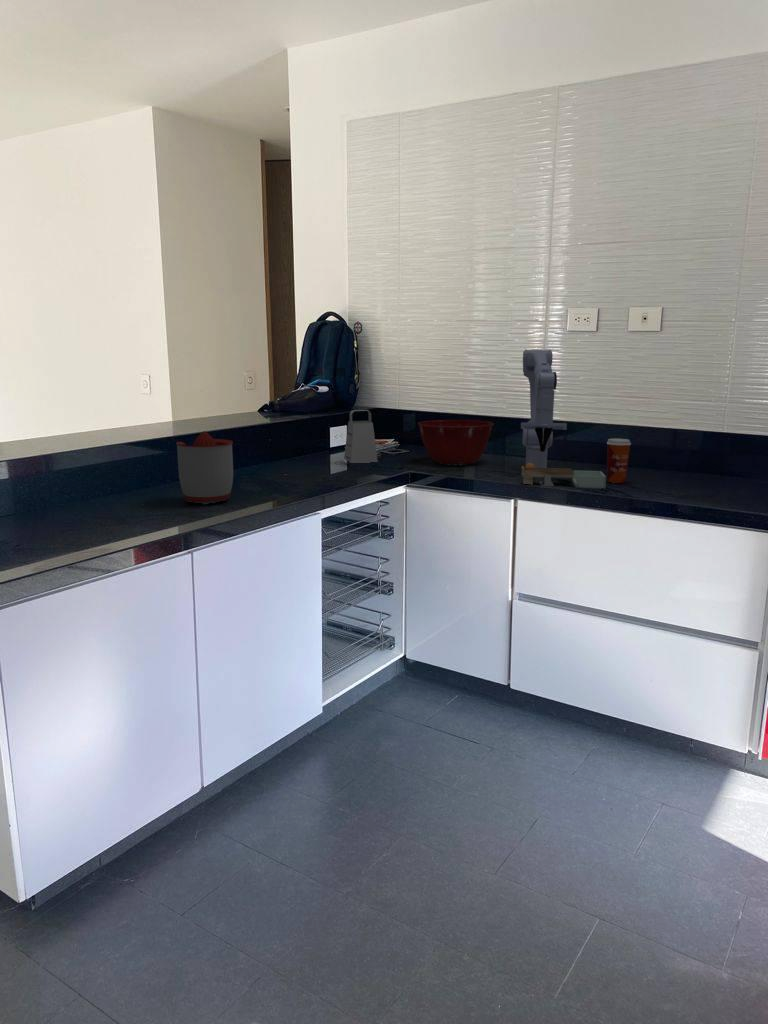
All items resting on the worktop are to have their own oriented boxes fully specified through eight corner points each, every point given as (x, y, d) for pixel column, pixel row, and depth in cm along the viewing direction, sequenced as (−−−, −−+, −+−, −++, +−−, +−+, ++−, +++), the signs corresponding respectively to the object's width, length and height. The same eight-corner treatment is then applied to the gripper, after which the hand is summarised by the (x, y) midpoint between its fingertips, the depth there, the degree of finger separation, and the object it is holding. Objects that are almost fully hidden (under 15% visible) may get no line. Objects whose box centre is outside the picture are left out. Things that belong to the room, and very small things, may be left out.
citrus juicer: (208, 493, 224) (205, 426, 220) (246, 500, 214) (244, 430, 209) (164, 501, 213) (159, 431, 208) (202, 509, 202) (198, 435, 198)
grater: (343, 462, 284) (343, 409, 280) (370, 461, 287) (370, 408, 283) (350, 466, 274) (350, 412, 270) (378, 465, 277) (378, 411, 273)
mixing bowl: (404, 460, 290) (404, 420, 286) (467, 456, 301) (468, 417, 298) (439, 471, 265) (440, 427, 261) (507, 466, 276) (508, 424, 273)
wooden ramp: (519, 478, 251) (520, 462, 250) (569, 479, 249) (570, 464, 248) (521, 484, 239) (522, 469, 238) (573, 486, 237) (574, 470, 236)
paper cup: (612, 484, 240) (615, 441, 237) (599, 480, 247) (602, 438, 244) (633, 483, 242) (636, 440, 239) (620, 479, 249) (623, 437, 246)
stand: (539, 481, 245) (539, 470, 244) (551, 482, 244) (552, 470, 243) (541, 486, 237) (541, 474, 236) (553, 486, 236) (554, 474, 236)
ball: (524, 471, 242) (524, 462, 241) (534, 472, 242) (534, 462, 241) (524, 473, 239) (525, 463, 238) (535, 473, 239) (535, 463, 238)
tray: (572, 481, 245) (572, 470, 244) (600, 482, 244) (601, 471, 243) (576, 488, 234) (576, 476, 233) (605, 488, 233) (606, 476, 232)
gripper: (522, 410, 240) (520, 452, 243) (568, 411, 237) (565, 453, 240) (521, 408, 246) (519, 449, 249) (566, 409, 244) (564, 450, 247)
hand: (542, 451), depth 245 cm, fingers closed
